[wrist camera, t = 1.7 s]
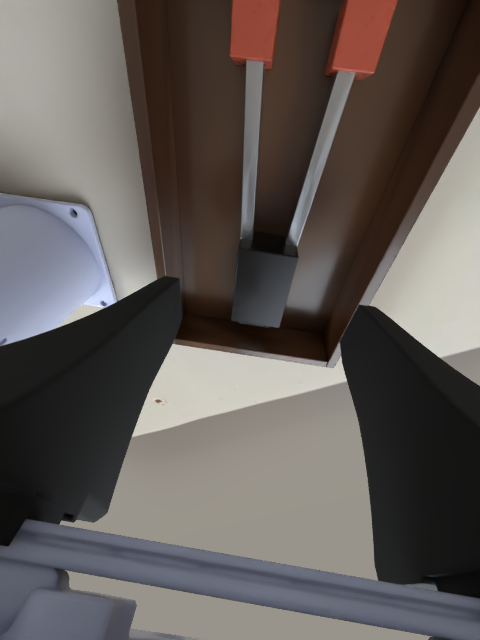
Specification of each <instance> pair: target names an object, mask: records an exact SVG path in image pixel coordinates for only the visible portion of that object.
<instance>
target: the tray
mask: <svg viewBox="0 0 480 640" xmlns="http://www.w3.org/2000/svg"><path fill="white" fill-rule="evenodd" d="M343 2H344V0H281V4H280V11H279V19H278V27H277V35H276V43H275V50H274V58H273V66H272V69H266V68H265V79H264V94H263V109H262V124H261V139H260V154H259V169H258V184H257V199H256V214H255V229H254V232H259V233H266V234H273V235H281V236H284V235H285V232H286V228H287V225H288V222H289V218H290V215H291V211H292V208H293V205H294V201H295V198H296V194H297V191H298V188H299V184H300V181H301V177H302V174H303V171H304V167H305V164H306V160H307V157H308V154H309V150H310V147H311V143H312V140H313V137H314V133H315V130H316V126H317V123H318V120H319V116H320V113H321V109H322V106H323V103H324V99H325V96H326V92H327V89H328V86H329V82H330V79H331V76H326V75H325V70H326V66H327V62H328V57H329V53H330V49H331V44H332V40H333V36H334V31H335V27H336V22H337V18H338V14H339V9H340V7H341V6H342V4H343ZM117 3H118V10H119V17H120V24H121V31H122V38H123V45H124V52H125V59H126V65H127V72H128V79H129V86H130V93H131V100H132V107H133V114H134V121H135V128H136V135H137V142H138V148H139V155H140V162H141V169H142V176H143V183H144V190H145V197H146V204H147V211H148V218H149V224H150V231H151V238H152V245H153V252H154V259H155V266H156V273H157V279H159V278H161V277H163V276H169V277H176V278H180V291H181V305H182V320H181V323H180V326H179V329H178V332H177V335H176V338H175V340H174V342H173V344H174V343H175V344H177V345H184V346H190V347H197V348H203V349H210V350H217V351H223V352H230V353H236V354H243V355H250V356H256V357H263V358H269V359H276V360H283V361H289V362H296V363H302V364H309V365H316V366H322V367H325V366H326V367H329V368H334V367H335V365H336V363H337V361H338V359H339V358H340V356H341V349H340V340H341V338H342V336H343V334H344V332H345V330H346V328H347V326H348V324H349V322H350V321H351V319H352V317H353V315H354V313H355V311H356V309H357V307H358V305H366V306H369V304H370V302H371V300H372V299H373V297H374V295H375V293H376V292H377V290H378V288H379V286H380V284H381V283H382V281H383V279H384V277H385V275H386V274H387V272H388V270H389V268H390V267H391V265H392V263H393V261H394V259H395V258H396V256H397V254H398V252H399V250H400V249H401V247H402V245H403V243H404V241H405V240H406V238H407V236H408V234H409V233H410V231H411V229H412V227H413V225H414V224H415V222H416V220H417V218H418V216H419V215H420V213H421V211H422V209H423V208H424V206H425V204H426V202H427V200H428V199H429V197H430V195H431V193H432V191H433V190H434V188H435V186H436V184H437V182H438V181H439V179H440V177H441V175H442V174H443V172H444V170H445V168H446V166H447V165H448V163H449V161H450V159H451V157H452V156H453V154H454V152H455V150H456V149H457V147H458V145H459V143H460V141H461V140H462V138H463V136H464V134H465V132H466V131H467V129H468V127H469V125H470V123H471V122H472V120H473V118H474V116H475V115H476V113H477V111H478V109H479V107H480V0H398V2H397V5H396V8H395V11H394V14H393V17H392V20H391V23H390V26H389V29H388V33H387V36H386V39H385V42H384V45H383V48H382V51H381V54H380V57H379V60H378V63H377V67H376V70H375V72H374V74H372V75H370V76H368V77H366V78H364V79H362V80H355V79H354V81H353V84H352V87H351V90H350V93H349V96H348V99H347V102H346V105H345V108H344V111H343V114H342V116H341V119H340V122H339V125H338V128H337V131H336V134H335V137H334V140H333V143H332V146H331V149H330V152H329V155H328V158H327V161H326V164H325V166H324V169H323V172H322V175H321V178H320V181H319V184H318V187H317V190H316V193H315V196H314V199H313V202H312V205H311V208H310V211H309V214H308V216H307V219H306V222H305V225H304V228H303V231H302V234H301V237H300V240H299V243H298V246H297V251H298V256H299V259H298V262H297V266H296V270H295V273H294V277H293V280H292V284H291V288H290V291H289V295H288V298H287V302H286V306H285V309H284V313H283V316H282V320H281V324H280V327H279V328H275V327H269V328H267V327H261V326H254V325H247V324H240V323H239V322H234V321H231V314H232V304H233V293H234V283H235V273H236V262H237V252H238V247H239V243H240V238H241V205H242V172H243V140H244V107H245V74H246V66H242V65H236V64H235V63H234V62H233V60H232V59H231V57H230V33H231V12H232V0H117Z"/></svg>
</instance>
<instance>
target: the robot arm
mask: <svg viewBox="0 0 480 640" xmlns="http://www.w3.org/2000/svg"><path fill="white" fill-rule="evenodd" d="M73 209H74V210H75V211H76V212H77V215H76V214H75V213H74V212H73ZM104 301H105V302H106V303H105V302H104ZM81 305H89V306H96V307H103V308H104V309H102V310H100V311H98V312H95V313H93V314H91V315H89V316H86V317H84V318H82V319H79V320H77V321H74V322H72V323H69V324H67V325H64V326H61V327H59V326H60V325H61V324H62V323H63V322H64V321H65V320H66V319H67V318H68V317H69V316H70V315H71V314H73V313H74V312H75V311H76V310H77V309H78V308H79V307H80V306H81ZM181 320H182V305H181V291H180V278H176V277H169V276H163V277H161V278H159V279H157V280H156V281H154V282H152V283H150V284H148V285H147V286H145V287H143V288H141V289H140V290H138V291H136V292H134V293H132V294H131V295H129V296H127V297H125V298H123V299H121V300H120V301H118V302H117V298H116V295H115V292H114V288H113V285H112V281H111V278H110V274H109V271H108V267H107V264H106V260H105V257H104V254H103V250H102V247H101V243H100V240H99V236H98V233H97V229H96V226H95V222H94V219H93V216H92V213H91V211H90V209H89V208H88V207H87V206H85V205H82V204H76V203H69V202H62V201H55V200H47V199H40V198H33V197H26V196H19V195H12V194H4V193H0V640H204V639H197V638H191V637H184V636H177V635H171V634H163V633H157V632H150V631H143V630H137V629H130V627H131V623H132V620H133V617H134V613H135V610H136V606H137V605H136V602H135V601H134V600H130V599H125V598H121V597H116V596H111V595H106V594H101V593H94V592H87V591H79V590H71V589H70V587H69V575H68V573H67V572H66V571H65V570H68V571H73V572H78V573H84V574H89V575H95V576H100V577H106V578H111V579H117V580H123V581H128V582H134V583H140V584H145V585H150V586H156V587H161V588H167V589H172V590H178V591H183V592H189V593H194V594H200V595H206V596H212V597H217V598H222V599H228V600H233V601H239V602H244V603H250V604H256V605H261V606H266V607H272V608H277V609H283V610H289V611H295V612H300V613H306V614H311V615H316V616H322V617H327V618H333V619H338V620H344V621H350V622H355V623H361V624H367V625H372V626H377V627H383V628H388V629H394V630H400V631H405V632H410V633H416V634H421V635H427V636H433V637H430V638H429V639H428V640H480V386H479V385H477V384H476V383H474V382H473V381H471V380H470V379H468V378H467V377H465V376H464V375H462V374H461V373H460V372H458V371H457V370H455V369H454V368H452V367H451V366H450V365H448V364H447V363H446V362H444V361H443V360H442V359H440V358H439V357H438V356H436V355H435V354H434V353H432V352H431V351H430V350H429V349H427V348H426V347H425V346H423V345H422V344H421V343H420V342H419V341H417V340H416V339H415V338H414V337H412V336H411V335H410V334H409V333H408V332H406V331H405V330H404V329H403V328H401V327H400V326H399V325H398V324H397V323H395V322H394V321H393V320H392V319H391V318H389V317H388V316H387V315H385V314H384V313H383V312H382V311H380V310H379V309H377V308H376V307H373V306H366V305H358V307H357V309H356V311H355V313H354V315H353V317H352V319H351V321H350V322H349V324H348V326H347V328H346V330H345V332H344V334H343V336H342V338H341V340H340V349H341V357H342V363H343V367H344V371H345V375H346V378H347V382H348V385H349V389H350V392H351V396H352V399H353V402H354V406H355V410H356V413H357V417H358V421H359V426H360V431H361V437H362V443H363V449H364V455H365V463H366V470H367V477H368V486H369V495H370V504H371V514H372V528H373V542H374V561H375V568H376V572H377V577H378V581H376V580H371V579H365V578H360V577H354V576H348V575H342V574H336V573H331V572H325V571H320V570H314V569H308V568H303V567H297V566H291V565H286V564H280V563H274V562H269V561H263V560H256V559H251V558H245V557H240V556H234V555H228V554H223V553H217V552H211V551H205V550H200V549H194V548H189V547H183V546H177V545H172V544H166V543H160V542H155V541H149V540H143V539H138V538H132V537H126V536H121V535H115V534H109V533H103V532H98V531H92V530H86V529H80V528H75V527H69V526H64V525H59V524H60V522H61V520H63V521H69V522H75V521H76V520H82V521H88V522H93V523H94V522H96V521H97V520H99V519H100V518H102V517H103V516H104V515H105V514H106V513H107V512H108V509H109V505H110V502H111V499H112V496H113V493H114V489H115V486H116V483H117V479H118V476H119V473H120V469H121V467H122V464H123V461H124V457H125V455H126V451H127V449H128V446H129V443H130V440H131V437H132V434H133V432H134V429H135V426H136V423H137V421H138V418H139V415H140V412H141V410H142V407H143V405H144V402H145V399H146V397H147V394H148V392H149V389H150V387H151V385H152V383H153V381H154V379H155V377H156V375H157V373H158V371H159V369H160V367H161V365H162V363H163V361H164V359H165V357H166V356H167V354H168V352H169V350H170V348H171V346H172V344H173V342H174V340H175V338H176V335H177V332H178V329H179V326H180V323H181ZM57 327H59V328H57Z"/></svg>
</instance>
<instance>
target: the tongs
mask: <svg viewBox="0 0 480 640" xmlns="http://www.w3.org/2000/svg"><path fill="white" fill-rule="evenodd" d="M397 2H398V0H344V2H343V4H342V6H341V7H340V9H339V14H338V18H337V22H336V27H335V31H334V36H333V40H332V44H331V49H330V53H329V57H328V62H327V66H326V70H325V75H326V76H331V79H330V82H329V86H328V89H327V92H326V96H325V99H324V103H323V106H322V109H321V113H320V116H319V120H318V123H317V126H316V130H315V133H314V137H313V140H312V143H311V147H310V150H309V154H308V157H307V160H306V164H305V167H304V171H303V174H302V177H301V181H300V184H299V188H298V191H297V194H296V198H295V201H294V205H293V208H292V211H291V215H290V218H289V222H288V225H287V228H286V232H285V235H284V236H281V235H273V234H266V233H259V232H254V229H255V214H256V199H257V184H258V169H259V154H260V139H261V124H262V109H263V94H264V79H265V68H266V69H272V66H273V58H274V50H275V43H276V35H277V27H278V19H279V11H280V4H281V0H232V12H231V33H230V57H231V59H232V60H233V62H234V63H235V64H236V65H242V66H246V74H245V107H244V140H243V172H242V205H241V238H240V243H239V247H238V252H237V262H236V273H235V283H234V293H233V304H232V314H231V321H234V322H239V323H240V324H247V325H254V326H261V327H267V328H269V327H275V328H279V327H280V324H281V320H282V316H283V313H284V309H285V306H286V302H287V298H288V295H289V291H290V288H291V284H292V280H293V277H294V273H295V270H296V266H297V262H298V259H299V256H298V251H297V246H298V243H299V240H300V237H301V234H302V231H303V228H304V225H305V222H306V219H307V216H308V214H309V211H310V208H311V205H312V202H313V199H314V196H315V193H316V190H317V187H318V184H319V181H320V178H321V175H322V172H323V169H324V166H325V164H326V161H327V158H328V155H329V152H330V149H331V146H332V143H333V140H334V137H335V134H336V131H337V128H338V125H339V122H340V119H341V116H342V114H343V111H344V108H345V105H346V102H347V99H348V96H349V93H350V90H351V87H352V84H353V81H354V79H355V80H362V79H364V78H366V77H368V76H370V75H372V74H374V72H375V70H376V67H377V63H378V60H379V57H380V54H381V51H382V48H383V45H384V42H385V39H386V36H387V33H388V29H389V26H390V23H391V20H392V17H393V14H394V11H395V8H396V5H397Z"/></svg>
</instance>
